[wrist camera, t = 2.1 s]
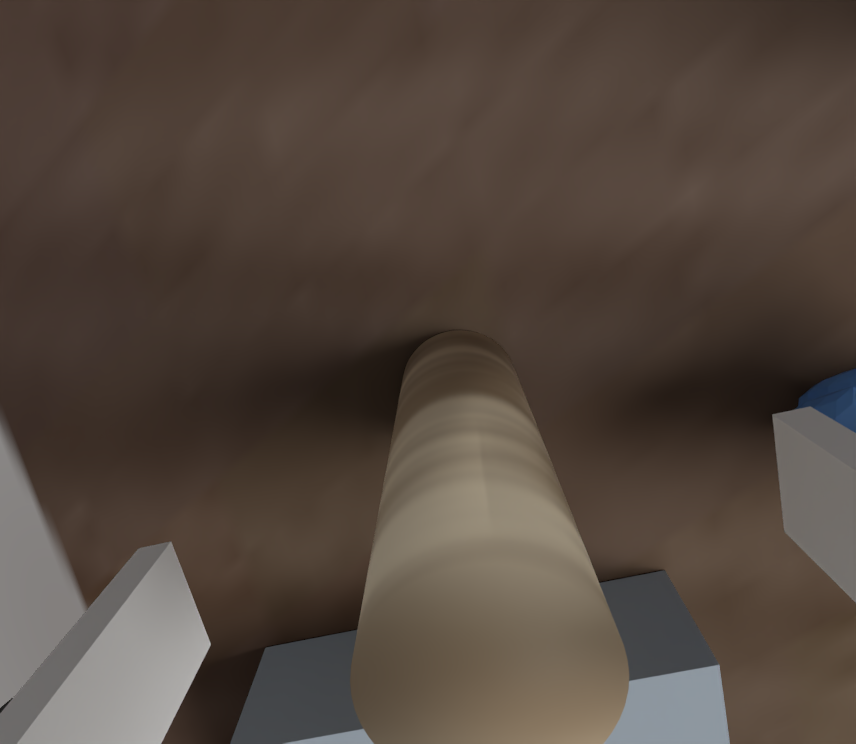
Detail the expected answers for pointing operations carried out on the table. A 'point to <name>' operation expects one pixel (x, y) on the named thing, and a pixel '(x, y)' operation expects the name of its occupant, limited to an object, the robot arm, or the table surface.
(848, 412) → the grapes
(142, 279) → the table surface
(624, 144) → the table surface
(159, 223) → the table surface
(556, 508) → the peg
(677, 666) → the socket block
